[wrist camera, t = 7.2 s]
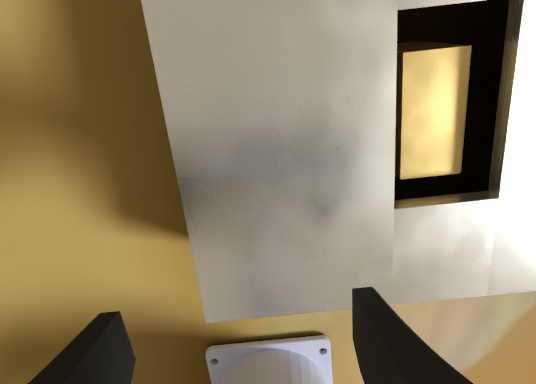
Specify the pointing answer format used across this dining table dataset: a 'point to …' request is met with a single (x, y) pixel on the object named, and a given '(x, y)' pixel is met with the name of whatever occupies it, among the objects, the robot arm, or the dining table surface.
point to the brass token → (430, 108)
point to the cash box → (330, 159)
